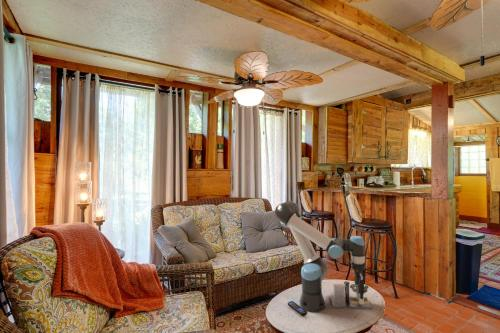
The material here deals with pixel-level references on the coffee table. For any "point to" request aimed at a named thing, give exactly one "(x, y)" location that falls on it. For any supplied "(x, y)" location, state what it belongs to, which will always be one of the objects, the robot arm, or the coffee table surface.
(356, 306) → the hinge base
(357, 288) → the mechanical component
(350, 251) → the robot arm
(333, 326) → the coffee table surface
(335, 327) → the coffee table surface
